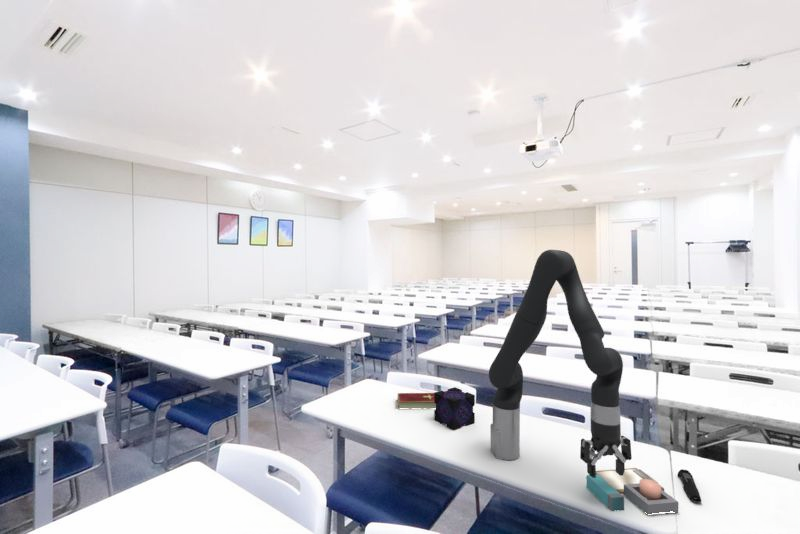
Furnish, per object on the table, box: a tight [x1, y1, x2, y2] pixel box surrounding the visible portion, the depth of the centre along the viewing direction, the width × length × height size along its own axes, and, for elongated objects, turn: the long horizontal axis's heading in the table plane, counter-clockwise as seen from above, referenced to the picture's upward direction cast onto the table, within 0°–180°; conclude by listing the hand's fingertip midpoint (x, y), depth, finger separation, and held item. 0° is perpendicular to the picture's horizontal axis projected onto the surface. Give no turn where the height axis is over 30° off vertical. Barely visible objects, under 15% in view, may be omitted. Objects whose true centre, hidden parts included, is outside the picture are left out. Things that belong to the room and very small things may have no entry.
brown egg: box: [639, 479, 662, 501], centre depth 104 cm, size 5×5×3 cm
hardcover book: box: [397, 392, 436, 409], centre depth 177 cm, size 12×21×4 cm, turn 92°
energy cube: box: [433, 386, 476, 432], centre depth 157 cm, size 12×12×12 cm
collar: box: [623, 483, 679, 515], centre depth 104 cm, size 9×9×3 cm
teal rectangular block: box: [585, 474, 625, 512], centre depth 107 cm, size 12×4×4 cm, turn 7°
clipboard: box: [596, 467, 665, 495], centre depth 114 cm, size 16×11×1 cm
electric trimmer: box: [677, 468, 702, 503], centre depth 110 cm, size 4×16×3 cm, turn 152°
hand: (606, 475), depth 106 cm, fingers open, 8 cm apart
